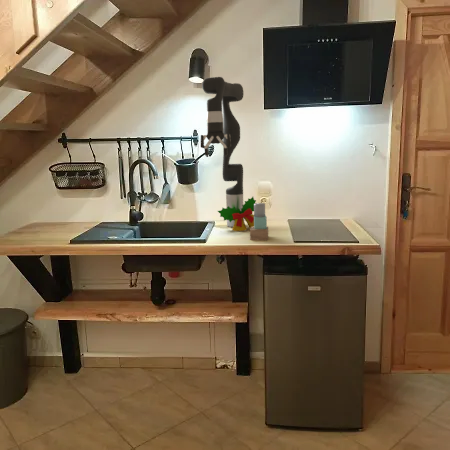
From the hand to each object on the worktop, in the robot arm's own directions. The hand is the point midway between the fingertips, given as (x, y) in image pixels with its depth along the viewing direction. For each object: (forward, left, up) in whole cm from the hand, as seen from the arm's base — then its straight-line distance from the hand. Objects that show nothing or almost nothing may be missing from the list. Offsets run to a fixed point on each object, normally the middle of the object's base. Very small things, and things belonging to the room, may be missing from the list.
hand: (216, 156), depth 212 cm
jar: (+7, +20, -28) cm, 35 cm away
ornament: (-13, +9, -38) cm, 41 cm away
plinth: (+8, +20, -38) cm, 44 cm away
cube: (+7, +21, -33) cm, 40 cm away
